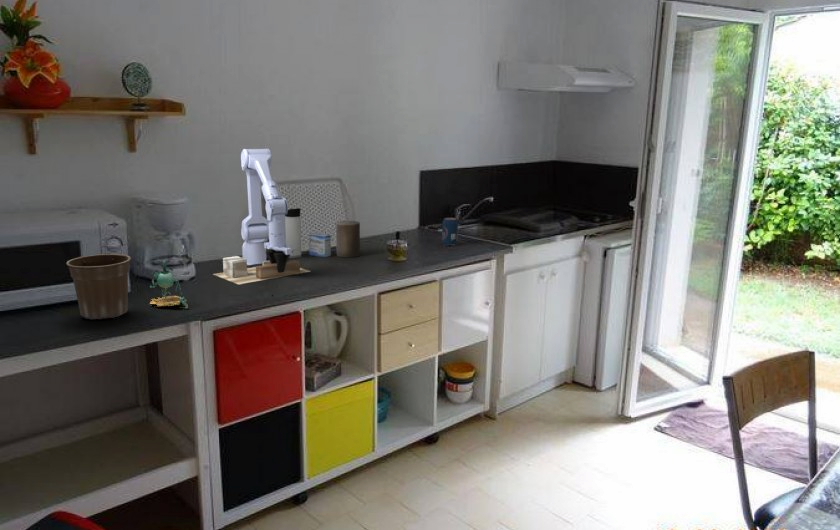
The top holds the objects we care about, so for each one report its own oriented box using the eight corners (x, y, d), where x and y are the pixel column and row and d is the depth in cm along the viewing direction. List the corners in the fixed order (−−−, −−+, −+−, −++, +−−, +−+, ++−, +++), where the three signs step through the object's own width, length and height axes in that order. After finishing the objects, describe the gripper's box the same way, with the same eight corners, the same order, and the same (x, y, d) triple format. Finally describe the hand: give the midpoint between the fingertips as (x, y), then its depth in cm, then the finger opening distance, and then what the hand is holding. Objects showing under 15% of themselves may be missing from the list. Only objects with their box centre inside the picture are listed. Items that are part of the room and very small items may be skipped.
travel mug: (293, 259, 264) (292, 209, 259) (282, 257, 267) (281, 207, 263) (305, 256, 268) (304, 207, 264) (294, 254, 272) (293, 206, 268)
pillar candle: (362, 257, 271) (362, 220, 267) (339, 258, 267) (339, 221, 264) (356, 252, 279) (356, 216, 276) (333, 253, 276) (333, 217, 272)
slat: (256, 277, 230) (255, 266, 229) (295, 270, 241) (295, 260, 240) (260, 279, 228) (260, 268, 227) (299, 272, 239) (299, 261, 238)
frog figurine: (165, 315, 191) (159, 264, 189) (141, 308, 204) (135, 260, 202) (197, 308, 198) (191, 259, 195) (172, 302, 211) (166, 256, 208)
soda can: (439, 243, 300) (439, 217, 298) (452, 242, 303) (453, 216, 301) (446, 246, 294) (446, 220, 292) (459, 245, 297) (460, 219, 295)
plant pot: (59, 321, 183) (52, 264, 179) (94, 305, 199) (89, 252, 195) (114, 325, 181) (108, 267, 177) (145, 308, 197) (141, 255, 193)
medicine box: (308, 255, 272) (308, 234, 270) (315, 253, 276) (315, 232, 274) (324, 257, 268) (324, 236, 266) (331, 255, 272) (331, 234, 270)
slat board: (212, 276, 234) (211, 257, 232) (283, 265, 254) (283, 247, 252) (238, 287, 222) (237, 266, 220) (310, 273, 241) (310, 255, 240)
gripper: (256, 231, 233) (257, 269, 237) (278, 237, 223) (279, 276, 227) (273, 229, 238) (274, 266, 241) (296, 235, 228) (297, 273, 231)
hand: (278, 271), depth 234 cm, fingers closed on slat, 3 cm apart
